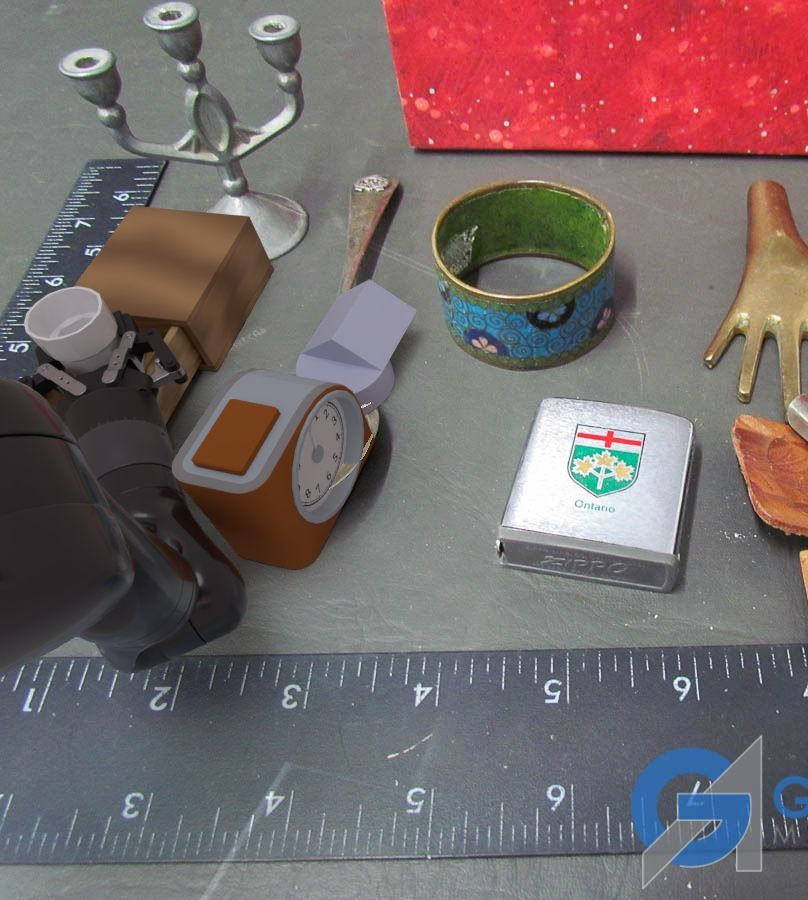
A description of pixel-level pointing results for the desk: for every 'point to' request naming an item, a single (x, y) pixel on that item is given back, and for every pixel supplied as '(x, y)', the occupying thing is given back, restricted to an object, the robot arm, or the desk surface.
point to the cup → (74, 328)
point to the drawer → (178, 346)
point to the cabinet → (183, 274)
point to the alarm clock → (274, 463)
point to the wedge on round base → (358, 343)
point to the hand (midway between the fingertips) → (84, 331)
